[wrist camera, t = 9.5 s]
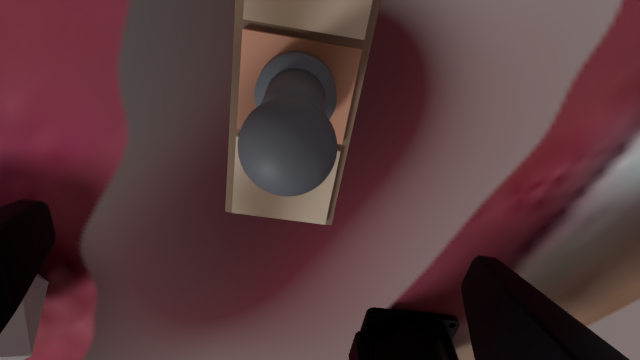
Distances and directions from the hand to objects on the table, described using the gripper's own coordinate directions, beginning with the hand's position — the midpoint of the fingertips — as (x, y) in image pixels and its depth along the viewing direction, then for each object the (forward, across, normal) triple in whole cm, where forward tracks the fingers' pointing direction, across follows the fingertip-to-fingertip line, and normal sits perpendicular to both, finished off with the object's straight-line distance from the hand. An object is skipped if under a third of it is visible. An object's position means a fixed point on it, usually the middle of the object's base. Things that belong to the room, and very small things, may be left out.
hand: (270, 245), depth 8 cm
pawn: (+11, 0, 0) cm, 11 cm away
